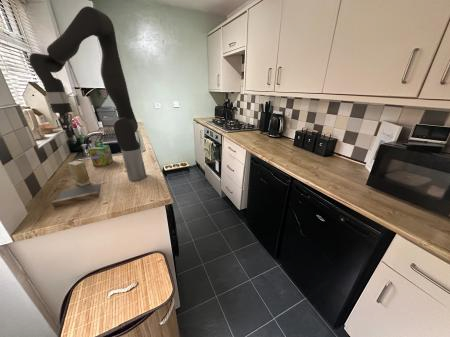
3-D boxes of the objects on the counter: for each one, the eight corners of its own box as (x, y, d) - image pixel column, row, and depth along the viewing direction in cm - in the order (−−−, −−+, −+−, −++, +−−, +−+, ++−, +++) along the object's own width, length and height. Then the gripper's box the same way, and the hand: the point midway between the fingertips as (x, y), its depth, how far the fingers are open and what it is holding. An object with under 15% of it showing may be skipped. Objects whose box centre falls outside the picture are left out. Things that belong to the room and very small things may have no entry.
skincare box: (75, 184, 95) (66, 163, 90) (83, 180, 99) (75, 160, 94) (83, 186, 93) (75, 165, 88) (91, 182, 97) (84, 161, 92)
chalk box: (93, 166, 117) (85, 144, 111) (99, 161, 125) (92, 140, 119) (108, 165, 119) (102, 143, 113) (113, 160, 127) (108, 139, 121)
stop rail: (98, 195, 86) (97, 191, 85) (98, 197, 84) (96, 192, 83) (55, 205, 79) (52, 200, 78) (54, 207, 77) (51, 202, 76)
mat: (100, 184, 96) (100, 183, 96) (98, 194, 86) (98, 194, 86) (62, 191, 89) (61, 191, 89) (55, 204, 79) (55, 203, 79)
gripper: (66, 103, 84) (78, 138, 91) (72, 101, 95) (82, 133, 102) (44, 103, 80) (59, 140, 87) (53, 101, 92) (65, 134, 99)
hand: (71, 136), depth 95 cm, fingers open, 5 cm apart
